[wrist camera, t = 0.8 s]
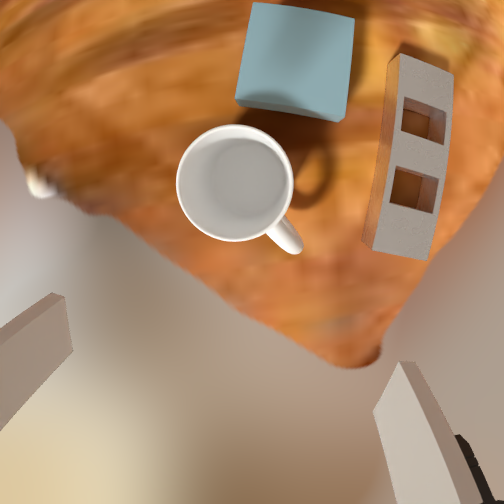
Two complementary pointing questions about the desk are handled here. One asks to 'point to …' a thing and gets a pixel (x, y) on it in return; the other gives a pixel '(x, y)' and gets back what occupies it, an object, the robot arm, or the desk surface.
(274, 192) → the mug
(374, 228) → the grey block with holes
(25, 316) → the robot arm
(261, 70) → the pale blue memo pad
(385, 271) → the desk surface
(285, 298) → the desk surface
